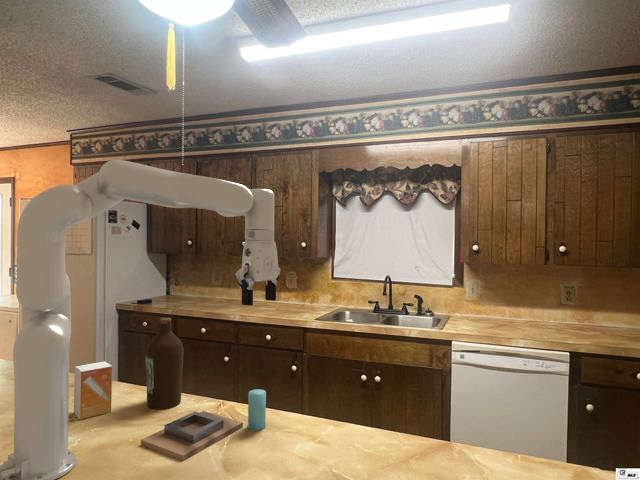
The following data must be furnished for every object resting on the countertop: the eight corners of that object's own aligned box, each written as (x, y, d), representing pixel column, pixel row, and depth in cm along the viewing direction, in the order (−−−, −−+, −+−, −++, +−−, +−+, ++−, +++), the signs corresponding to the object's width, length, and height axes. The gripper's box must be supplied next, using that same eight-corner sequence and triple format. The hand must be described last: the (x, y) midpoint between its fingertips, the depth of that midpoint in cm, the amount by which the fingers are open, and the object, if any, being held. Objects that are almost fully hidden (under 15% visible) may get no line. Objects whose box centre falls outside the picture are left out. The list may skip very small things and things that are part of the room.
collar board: (182, 460, 94) (183, 446, 94) (140, 444, 101) (141, 431, 101) (242, 426, 111) (242, 414, 111) (203, 415, 118) (203, 403, 118)
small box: (79, 420, 114) (80, 371, 114) (73, 413, 118) (73, 366, 118) (112, 412, 119) (112, 365, 119) (104, 405, 124) (105, 360, 124)
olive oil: (178, 394, 134) (179, 314, 134) (187, 406, 125) (188, 320, 125) (141, 400, 128) (143, 317, 128) (148, 413, 119) (149, 323, 119)
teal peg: (258, 432, 109) (258, 396, 108) (244, 428, 111) (244, 393, 111) (268, 425, 112) (269, 391, 112) (255, 421, 115) (255, 388, 115)
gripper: (249, 236, 102) (249, 308, 102) (290, 237, 117) (290, 299, 117) (225, 236, 106) (225, 306, 106) (268, 236, 121) (267, 297, 121)
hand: (259, 302), depth 112 cm, fingers open, 9 cm apart
